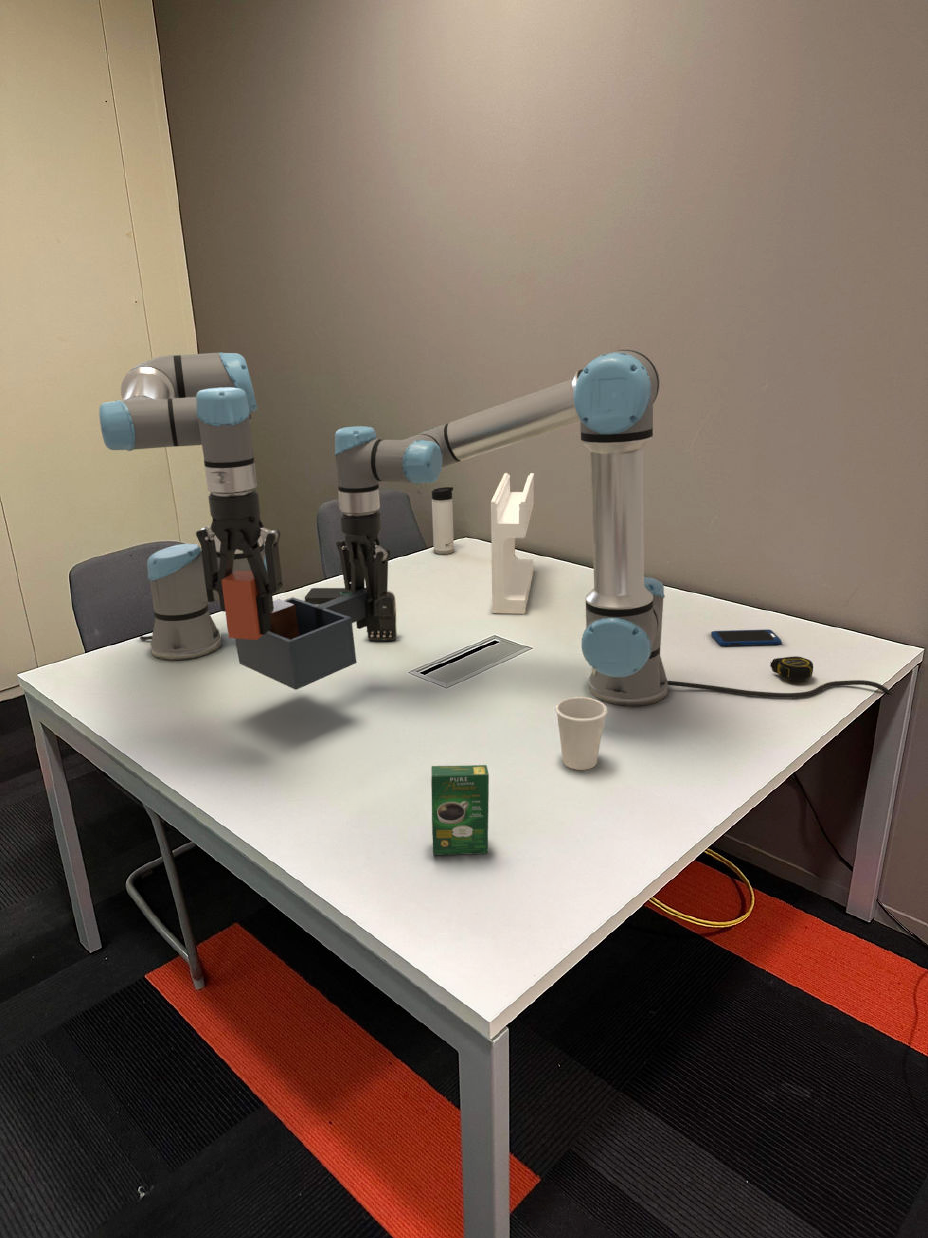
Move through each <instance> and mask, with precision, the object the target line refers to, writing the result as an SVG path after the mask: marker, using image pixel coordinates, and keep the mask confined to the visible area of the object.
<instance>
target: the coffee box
mask: <svg viewBox="0 0 928 1238" xmlns="http://www.w3.org/2000/svg"><path fill="white" fill-rule="evenodd" d="M430 768H431V770H430V771H431V775H430V776H431V777H430V778H431V779H430V780H431V782H430V783H431V784H430V785H431V837H432V838H431V839H432V856H449V855H450V856H452V855H480V854H488V853H489V808H490V807H489V806H490V805H489V804H490V803H489V801H490V799H489V797H490V795H489V794H490V793H489V792H490V791H489V790H490V773H489V769H488V765H487V764H479V765H478V764H477V765H476V764H473V765H471V764H470V765H431V767H430Z"/></svg>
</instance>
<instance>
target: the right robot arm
mask: <svg viewBox="0 0 928 1238" xmlns="http://www.w3.org/2000/svg"><path fill="white" fill-rule="evenodd" d="M660 384H661V382H660V374H659V371H658V369H657V367H656V365H655V363H654V362H653V361H652V359H651V358H650V357H648V355H646V354H645V353H642V352H640V351H638V350H634V349H618V350H615V351H612V352H609V353H603V354H601V355H599V356H597V357H595V358H594V359H592V360H591V361H589V362H588V364H587V365H586V366H585V367H584V368H582V369H578V370H577V371H576V372H575V374H574V376H573V377H572V378H571V379H568V380H565V381H563V382H560V383H557V384H554V385H551V386H548V387H546V388H543V389H540V390H537V391H535V392H532V393H529V394H526V395H524V396H519V397H517V398H515V399H512V400H509V401H506V402H503V403H501V404H498V405H495V406H493V407H489V408H487V409H484V410H480V411H478V412H476V413H473V414H470V415H467V416H464V417H461V418H457V419H456V420H453V421H450V422H448V423H444V424H442V425H438V426H434V427H431V428H429V429H425V430H424V431H422V432H420V433H418V434H415V435H412V436H410V437H408V438H407V437H406V438H405V439H381V438H377V434H376V430H375V428H374V427H371V426H364V425H360V426H359V425H358V426H355V425H354V426H346V427H342V428H339V429H338V430H336V432H335V434H334V456H335V463H336V471H337V472H336V475H337V485H338V487H337V488H338V490H337V493H338V494H337V495H338V507H339V511H340V512H341V514H340V515H339V517H340V528H341V532H342V534H343V535H344V539H343V540H339V541H336V543H335V544H336V548H337V550H338V553H339V558H340V559H339V560H340V566H341V571H342V577H343V585H344V588H345V589H346V591H350V592H351V593H352V592H355V591H358V590H360V589H363V588H366V590H367V597H368V598H366V599H365V608H366V618H364V619H362V620H359V621H357V622H355V624H356V629H358V630H360V629H363V628H366V633H368V632H369V633H370V632H373V631H376V630H378V629H380V620H379V615H380V599H381V598H384V597H387V591H388V587H389V586H388V583H389V582H388V579H389V560H390V557H391V550H390V549H388V548H387V549H384V548H383V547H382V546H381V541H380V538H379V534H380V532H381V531H382V517H381V514H382V513H381V512H380V510H379V509H380V508H381V502H380V486H379V485H380V483H379V482H390V483H403V484H404V483H406V484H415V485H421V484H433V483H435V482H437V481H438V480H439V478H440V475H441V473H442V469H443V468H445V467H448V466H450V465H451V466H452V465H454V464H456V463H460V462H462V461H465V460H468V459H470V458H473V457H477V456H481V455H484V454H486V453H489V452H493V451H496V450H498V449H501V448H505V447H508V446H510V445H514V444H517V443H520V442H523V441H526V440H530V439H532V438H535V437H539V436H541V435H545V434H548V433H551V432H554V431H557V430H560V429H562V428H566V427H569V426H573V425H575V424H578V423H579V424H580V425H579V426H580V442H581V443H582V444H583V445H584V446H585V447H586V448H587V449H588V450H589V453H590V484H591V485H590V486H591V523H592V560H593V588H592V589H591V590H590V591H589V592H588V593H587V594H586V595H585V629H584V631H583V633H582V636H581V652H582V655H583V657H584V659H585V661H586V662H587V664H588V665H589V666H591V673H590V676H589V678H588V690H589V692H590V693H591V695H593V696H594V697H596V698H597V699H598V700H601V701H603V702H607V703H609V704H613V705H618V706H627V707H628V706H629V707H636V706H637V707H639V706H640V707H641V706H646V705H652V704H655V703H657V702H660V701H662V700H663V699H664V698H666V696H667V694H668V688H669V687H668V686H672V687H682V688H689V689H690V688H692V689H700V690H707V691H714V692H715V691H716V692H724V693H729V694H735V695H736V694H737V695H743V696H751V697H764V698H779V699H782V698H784V699H789V698H791V699H793V698H794V699H795V698H805V697H810V696H813V695H815V694H818V693H820V692H821V691H823V690H825V689H827V688H830V687H838V686H869V687H873V688H876V689H878V690H880V691H881V692H883V693H884V694H885V695H889V696H891V695H893V693H892V691H891V690H889V688H887V687H886V686H884V685H882V684H880V683H878V682H876V681H871V680H866V679H865V680H863V679H853V680H835V681H829V682H826V683H823V684H821V685H819V686H817V687H816V688H814V689H811V690H807V691H801V692H771V691H756V690H755V691H754V690H748V689H747V690H745V689H738V688H731V687H726V686H720V685H719V686H717V685H711V684H703V683H694V682H685V681H675V680H668V678H667V675H666V670H665V668H664V664H663V661H662V657H661V646H662V628H663V611H664V610H663V609H664V599H665V587H664V584H663V582H661V581H660V580H659V579H656V578H653V577H649V576H645V499H644V498H645V496H644V495H645V494H644V493H645V492H644V491H645V489H644V488H645V487H644V484H645V483H644V478H645V477H644V476H645V475H644V474H645V473H644V469H645V468H644V449H645V447H646V446H647V445H648V444H649V442H650V441H652V439H653V438H654V403H655V402H656V400H657V398H658V396H659V391H660ZM373 593H374V594H373Z"/></svg>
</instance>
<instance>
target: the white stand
mask: <svg viewBox="0 0 928 1238" xmlns="http://www.w3.org/2000/svg"><path fill="white" fill-rule="evenodd" d="M510 478H511V475H510V474H509V472H504V473H503V476H502V477H501V480H500V482H499V483H498V486H497V488H496V490H495V492H494V494H493V495H492V496H493V497H492V499H491V501H490V537H491V539H490V540H491V544H490V545H491V605H492V608H491V609H492V611H491V613H492V614H516V615H517V614H518V615H526V610H527V605H528V601H529V595H530V591H531V585H532V581H533V577H534V576H533V575H534V572H535V571H534V563H535V562H534V561H535V560H534V559H533V558H532V559H531V558H518V557H517V555H516V539H526V536H527V532H528V529H529V525H530V521H531V517H532V513H533V509H534V506H535V500H534V499H535V490H534V489H535V473H533V472H530V473H529V474H528V475H527V478H526V481H525V484H524V487H523V490H522V491H511V480H510Z"/></svg>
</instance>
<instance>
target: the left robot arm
mask: <svg viewBox="0 0 928 1238" xmlns="http://www.w3.org/2000/svg"><path fill="white" fill-rule="evenodd" d="M120 395H121V400H120V399H117V400H114V401H107V402H102V403H101V404H100V406H99V409H98V410H99V412H98V414H99V415H98V416H99V422H100V423H99V424H100V431H101V435H102V441H103V442H104V445H105V447H106V448H107V449H108V450H110V451H127V452H131V451H133V450H146V449H161V448H173V447H176V448H177V447H193V446H201V449H202V453H203V463H204V464H203V465H204V472H205V479H206V488H207V491H208V492H209V495H208V496H207V497H208V505H209V510H210V511H209V512H210V516H211V517H212V520H211V524H210V526H204V527H202V528H201V529H198V530H197V531H196V532H195V536H196V538H197V540H198V542H199V544H200V545H199V544H197V543H181V544H175V545H171V546H168V547H164V548H162V549H160V550H158V551H155V552H154V553H152V554H151V555H150V556H149V557H148V559H147V561H146V569H147V580H148V583H149V589H150V594H151V600H152V601H151V602H152V607H153V613H154V626H153V628H152V629H153V630H152V635H147V636H143V635H141V636H140V637H139V640H142V641H149V640H150V650H151V654H152V655H153V656H154V657H156V658H157V659H158V658H159V659H161V660H166V661H167V660H168V661H184V660H191V659H195V658H196V659H197V658H199V657H204V656H206V655H209V654H211V653H213V652H215V651H216V650H218V649H219V648H220V647H221V645H222V636H221V632H220V629H219V628H218V627H217V626H216V625H217V624H215V622H214V620H213V618H212V616H211V614H210V611H209V604H208V603H214V602H219V607H220V610H221V612H222V613H223V612H225V614H226V611H225V603H224V595H223V588H222V579H224V578H225V577H227V576H229V575H230V574H232V573H233V572H235V571H252V574H253V576H254V579H255V582H256V585H257V587H258V590H259V593H260V594H259V595H258V596H256V604H257V612H258V621H259V629H260V635H264V634H266V633H267V632H268V631H269V630H270V629H271V622H270V613H271V612H273V609H274V606H273V601H274V599H273V598H274V597H273V594H276V593H277V592H278V591H280V590H281V589H282V588H283V587H284V585H283V584H284V582H283V576H282V575H283V574H282V567H281V566H282V565H281V559H280V558H281V557H280V550H279V542H280V538H281V532H280V530H279V529H274V530H272V529H270V528H266V527H265V526H264V524H263V522H262V520H261V507H260V499H259V492H258V491H257V490H256V488H257V487H258V481H257V473H256V472H257V471H256V465H255V457H254V450H253V449H254V448H253V436H252V427H251V421H252V416H251V413H254V412H256V411H258V405H257V401H256V400H257V399H256V396H255V392H254V388H253V384H252V379H251V375H250V372H249V368H248V363H247V360H246V358H245V357H244V356H243V355H241V354H240V353H233V352H230V353H229V352H209V353H207V352H206V353H192V354H175V355H174V354H168V355H167V354H166V355H161V356H157V357H154V358H150V359H148V360H145V361H143V362H141V363H139V364H138V365H136V366H134V367H132V368H131V369H130V370H129V371H128V372H127V373H126V374H125V376H124V378H123V380H122V381H121V385H120ZM225 619H226V620H225V621H227V618H226V617H225ZM226 626H227V625H226ZM227 629H228V626H227Z"/></svg>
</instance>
